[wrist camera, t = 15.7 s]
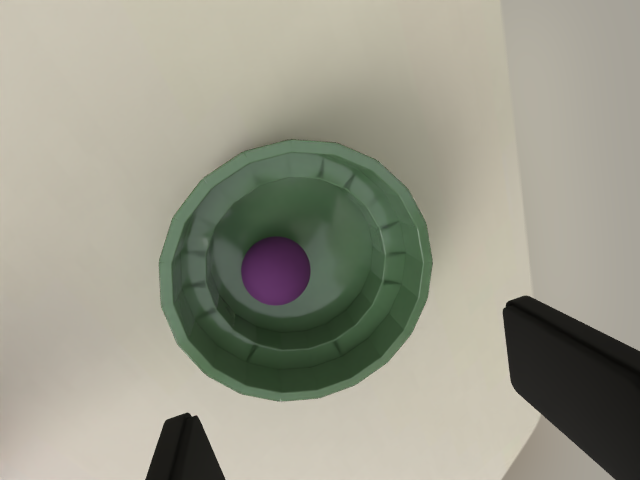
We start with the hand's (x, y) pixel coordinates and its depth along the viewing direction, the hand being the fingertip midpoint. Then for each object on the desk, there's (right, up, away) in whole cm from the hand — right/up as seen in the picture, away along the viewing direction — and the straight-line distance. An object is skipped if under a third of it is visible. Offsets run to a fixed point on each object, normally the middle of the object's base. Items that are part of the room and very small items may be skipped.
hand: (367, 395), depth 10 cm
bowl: (-3, +3, +13) cm, 14 cm away
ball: (-4, +3, +10) cm, 11 cm away
